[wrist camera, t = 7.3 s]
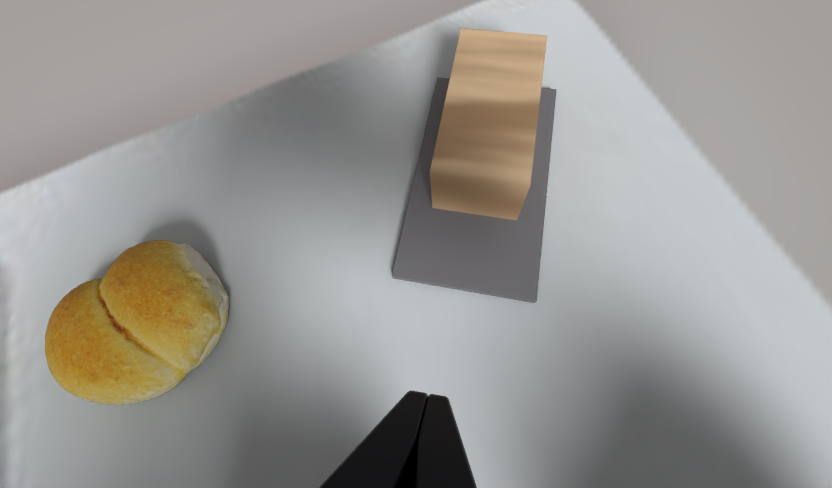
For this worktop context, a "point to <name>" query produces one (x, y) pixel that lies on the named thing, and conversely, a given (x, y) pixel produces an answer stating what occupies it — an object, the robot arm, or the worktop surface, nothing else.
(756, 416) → the worktop surface
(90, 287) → the bread roll
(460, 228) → the mat
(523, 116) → the oak block
